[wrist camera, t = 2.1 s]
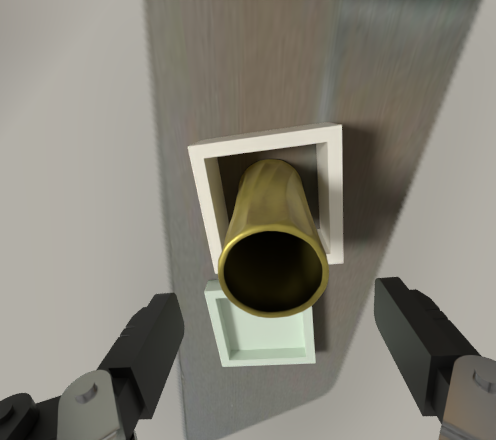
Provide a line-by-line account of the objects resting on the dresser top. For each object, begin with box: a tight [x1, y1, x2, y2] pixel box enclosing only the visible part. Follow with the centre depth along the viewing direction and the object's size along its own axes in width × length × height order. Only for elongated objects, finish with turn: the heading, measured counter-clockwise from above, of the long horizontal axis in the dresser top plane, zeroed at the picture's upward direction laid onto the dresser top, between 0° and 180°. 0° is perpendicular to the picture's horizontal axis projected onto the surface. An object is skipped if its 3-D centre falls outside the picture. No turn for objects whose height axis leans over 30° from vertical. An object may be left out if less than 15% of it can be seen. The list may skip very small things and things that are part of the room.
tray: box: [204, 280, 315, 367], centre depth 30 cm, size 11×11×2 cm
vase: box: [218, 159, 329, 318], centre depth 19 cm, size 6×6×14 cm
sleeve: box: [188, 122, 343, 274], centre depth 23 cm, size 11×11×5 cm
